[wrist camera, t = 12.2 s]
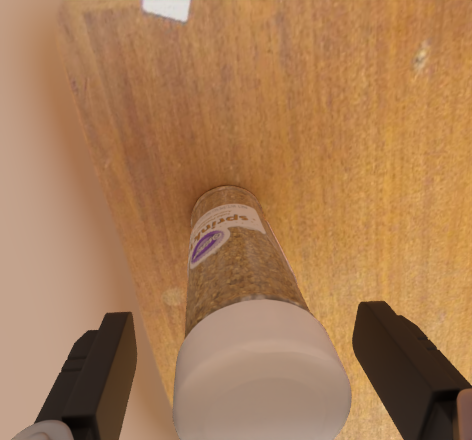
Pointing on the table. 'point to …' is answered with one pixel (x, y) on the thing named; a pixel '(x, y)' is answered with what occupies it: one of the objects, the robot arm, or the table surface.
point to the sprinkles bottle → (251, 336)
